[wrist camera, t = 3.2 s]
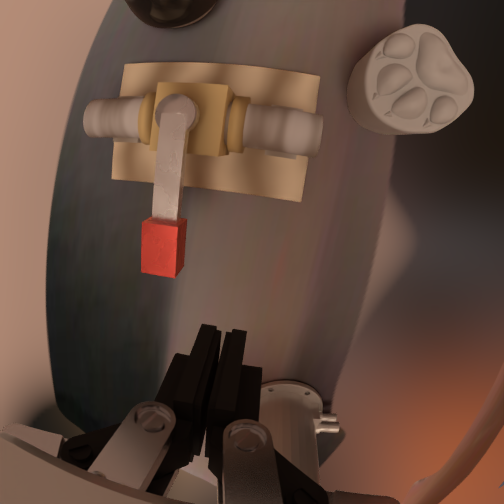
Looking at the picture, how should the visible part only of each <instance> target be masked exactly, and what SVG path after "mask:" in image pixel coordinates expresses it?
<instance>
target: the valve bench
mask: <svg viewBox="0 0 504 504" xmlns="http://www.w3.org/2000/svg"><path fill="white" fill-rule="evenodd" d="M319 81H320V76H316V75H310V74H305V73H299V72H293V71H286V70H280V69H272V68H264V67H256V66H246V65H234V64H220V63H196V62H159V63H136V64H125V67H124V73H123V79H122V85H121V91H120V96H118V98H114V99H95V100H92V101H91V102H90V103H89V104H88V105H87V107H86V109H85V113H84V118H83V125H84V130H85V132H86V134H87V135H88V136H89V137H112V138H113V142H114V151H113V165H112V179H118V180H130V181H141V182H152V183H154V178H155V166H156V156H157V146H158V136H159V127H158V125H157V123H156V121H155V111H156V108H157V105H158V104H159V102H160V101H161V100H162V99H163V98H165V97H166V96H168V95H171V94H182V95H185V96H187V97H188V98H190V99H192V100H193V101H194V102H195V103H196V104H197V105H198V108H199V111H200V117H199V121H198V123H197V125H196V126H195V127H194V128H193V129H192V130H191V131H190V132H189V138H188V146H187V155H186V164H185V174H184V184H183V186H189V187H198V188H206V189H214V190H222V191H229V192H237V193H244V194H251V195H258V196H264V197H271V198H277V199H284V200H290V201H296V202H301V199H302V194H303V188H304V182H305V176H306V169H307V163H308V157H312V158H316V156H317V154H318V151H319V147H320V142H321V137H322V129H323V116H322V115H319V114H315V110H316V103H317V96H318V88H319Z"/></svg>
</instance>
